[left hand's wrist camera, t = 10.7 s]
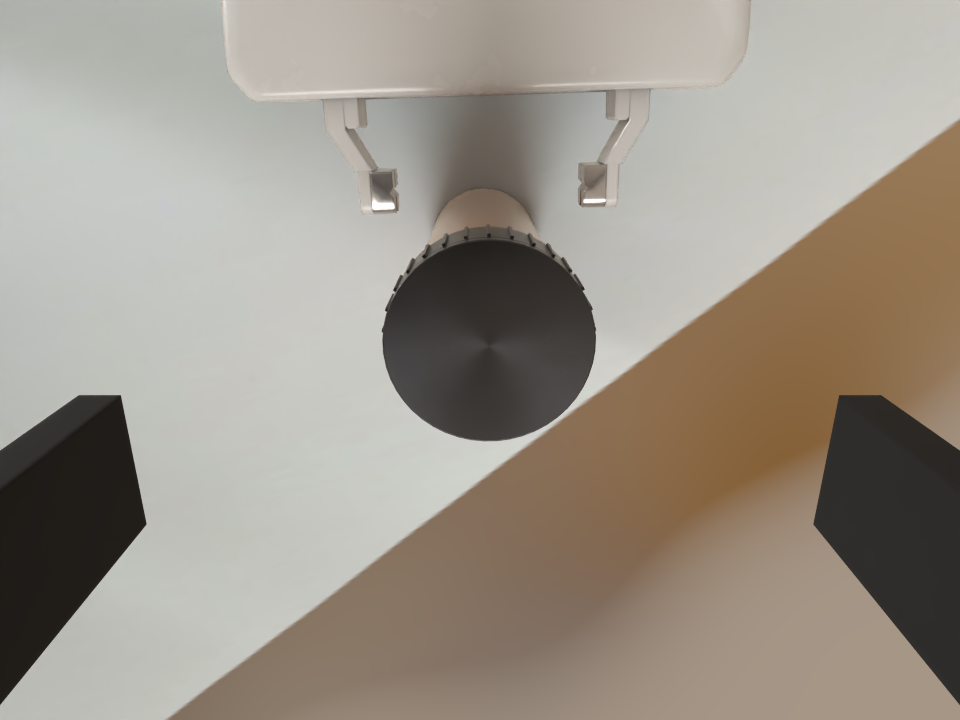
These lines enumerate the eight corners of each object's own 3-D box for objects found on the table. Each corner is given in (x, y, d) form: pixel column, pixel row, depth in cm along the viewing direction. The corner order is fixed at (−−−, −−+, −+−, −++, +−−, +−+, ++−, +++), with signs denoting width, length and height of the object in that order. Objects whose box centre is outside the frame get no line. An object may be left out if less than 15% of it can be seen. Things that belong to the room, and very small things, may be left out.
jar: (445, 298, 37) (422, 438, 21) (422, 200, 35) (376, 272, 19) (542, 278, 37) (593, 405, 21) (523, 177, 35) (563, 232, 19)
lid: (416, 428, 23) (410, 461, 21) (366, 248, 21) (353, 263, 19) (600, 392, 23) (613, 422, 21) (568, 203, 21) (579, 214, 18)
